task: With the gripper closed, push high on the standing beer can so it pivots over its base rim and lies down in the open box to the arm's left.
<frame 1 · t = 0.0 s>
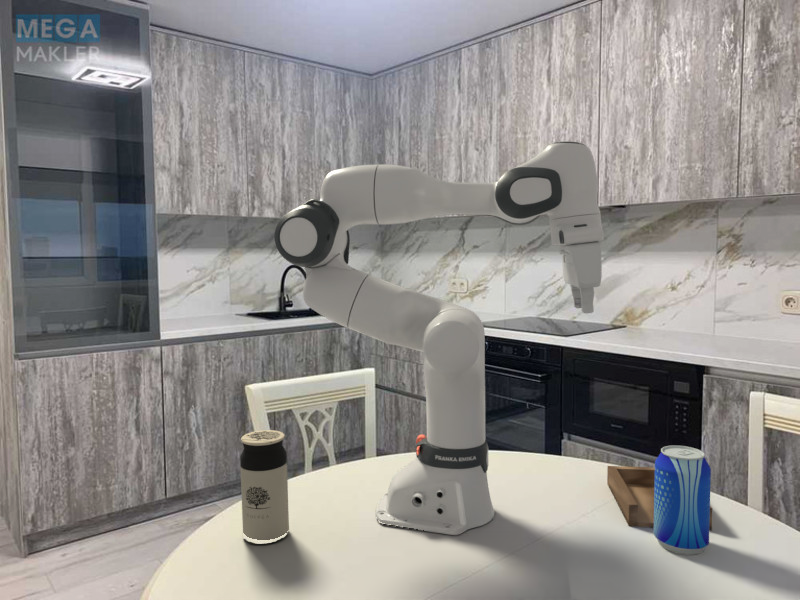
hand: (583, 310, 107), 39 cm above the table, tool pointing down, fingers open, 8 cm apart
beer can: (680, 545, 100), on the table
travel mug: (266, 536, 105), on the table
open box: (655, 506, 114), on the table
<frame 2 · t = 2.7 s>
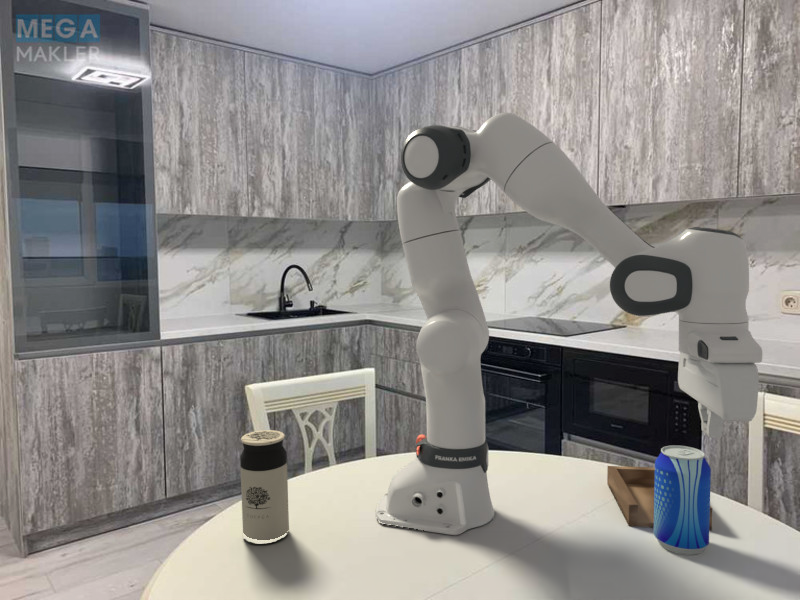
hand: (711, 435, 86), 23 cm above the table, tool pointing down, fingers closed
nothing on the table moved.
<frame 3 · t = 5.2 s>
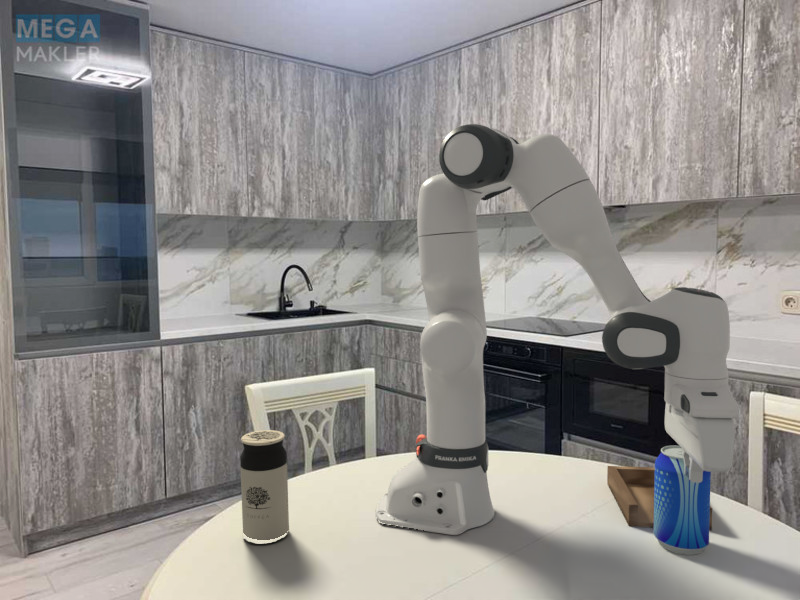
hand: (693, 479, 93), 13 cm above the table, tool pointing down, fingers closed
beer can: (680, 545, 100), on the table, touching gripper
everything else where it was.
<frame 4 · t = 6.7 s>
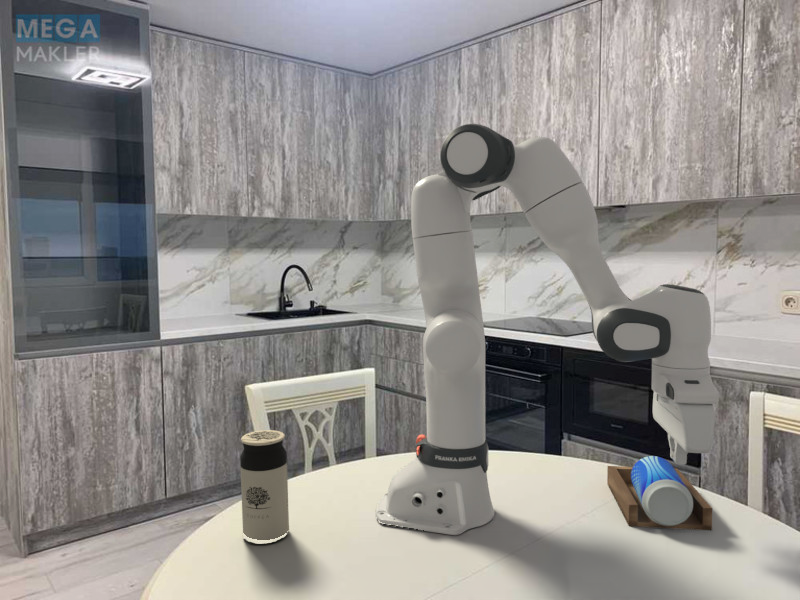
hand: (678, 461, 100), 14 cm above the table, tool pointing down, fingers closed
beer can: (669, 506, 103), point 5 cm above the table, touching open box
everything else where it was.
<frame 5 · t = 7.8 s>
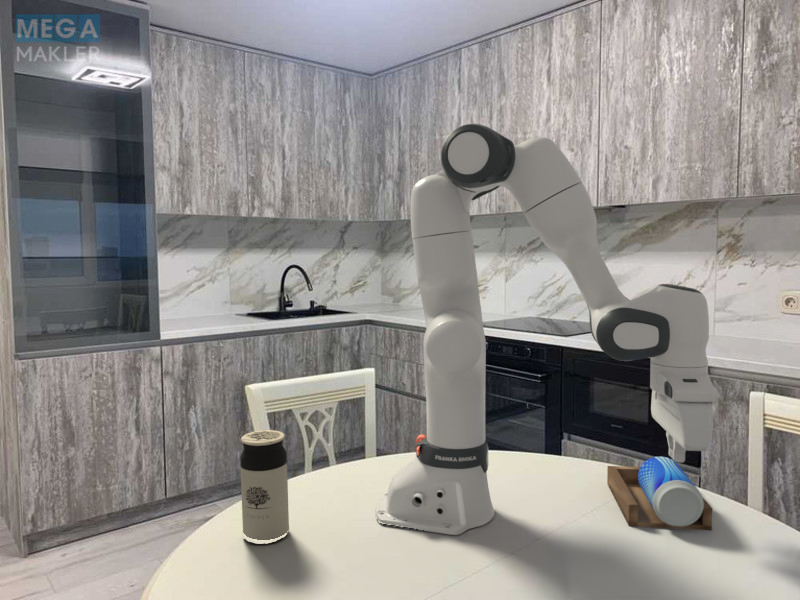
hand: (676, 459, 101), 14 cm above the table, tool pointing down, fingers closed
beer can: (680, 507, 102), point 5 cm above the table, touching open box
everything else where it was.
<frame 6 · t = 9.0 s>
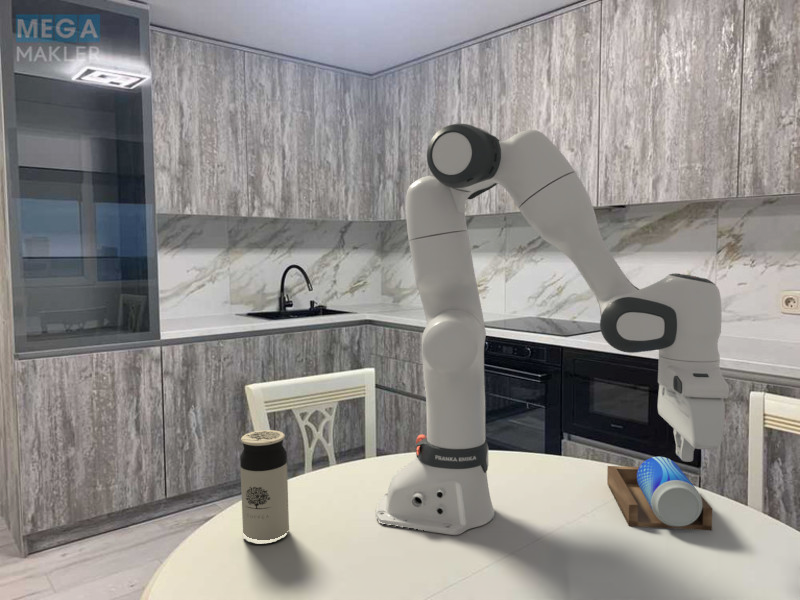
hand: (684, 458, 96), 15 cm above the table, tool pointing down, fingers closed
nothing on the table moved.
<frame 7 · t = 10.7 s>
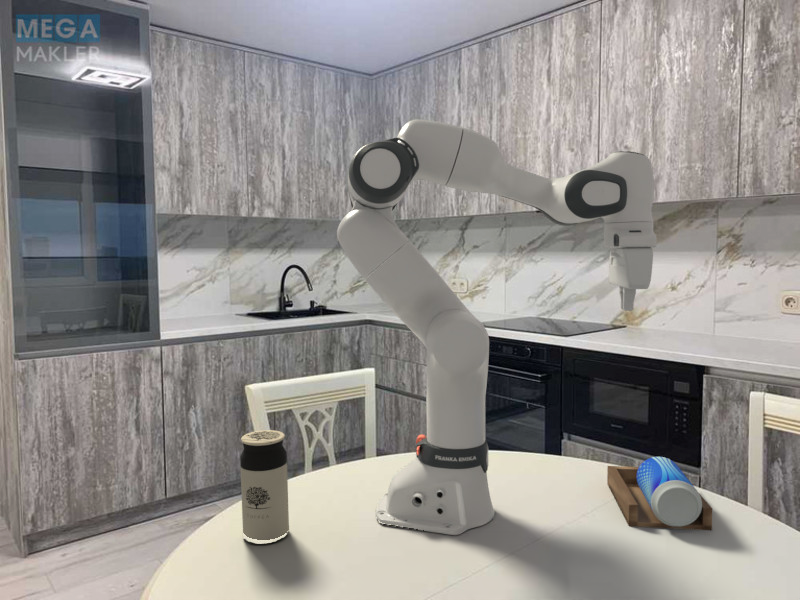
hand: (626, 310, 115), 38 cm above the table, tool pointing down, fingers closed
nothing on the table moved.
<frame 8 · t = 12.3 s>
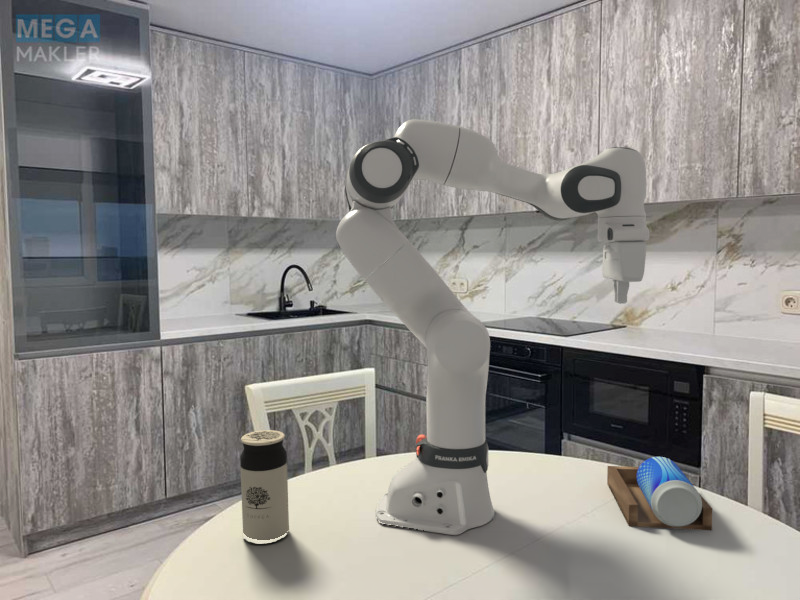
hand: (620, 303, 117), 39 cm above the table, tool pointing down, fingers closed
nothing on the table moved.
at the end: beer can tilted 90°; beer can inside the target area (9.0 cm from its centre), point 5.0 cm above the table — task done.
